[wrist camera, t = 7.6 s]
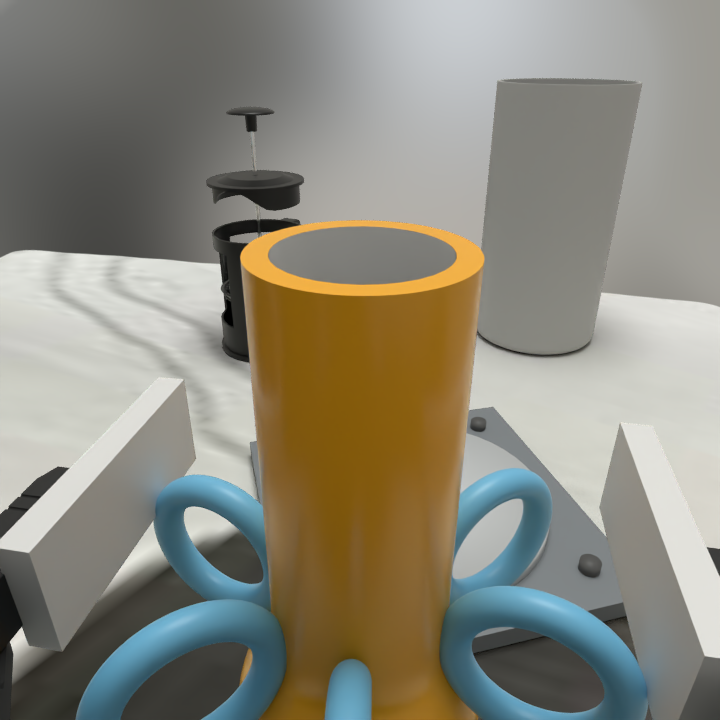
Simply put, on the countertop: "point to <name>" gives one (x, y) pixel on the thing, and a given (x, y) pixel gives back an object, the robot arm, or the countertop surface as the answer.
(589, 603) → the grey plate with disc
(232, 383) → the countertop surface
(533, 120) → the cylinder vase
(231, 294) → the french press
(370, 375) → the orange ringed tube
